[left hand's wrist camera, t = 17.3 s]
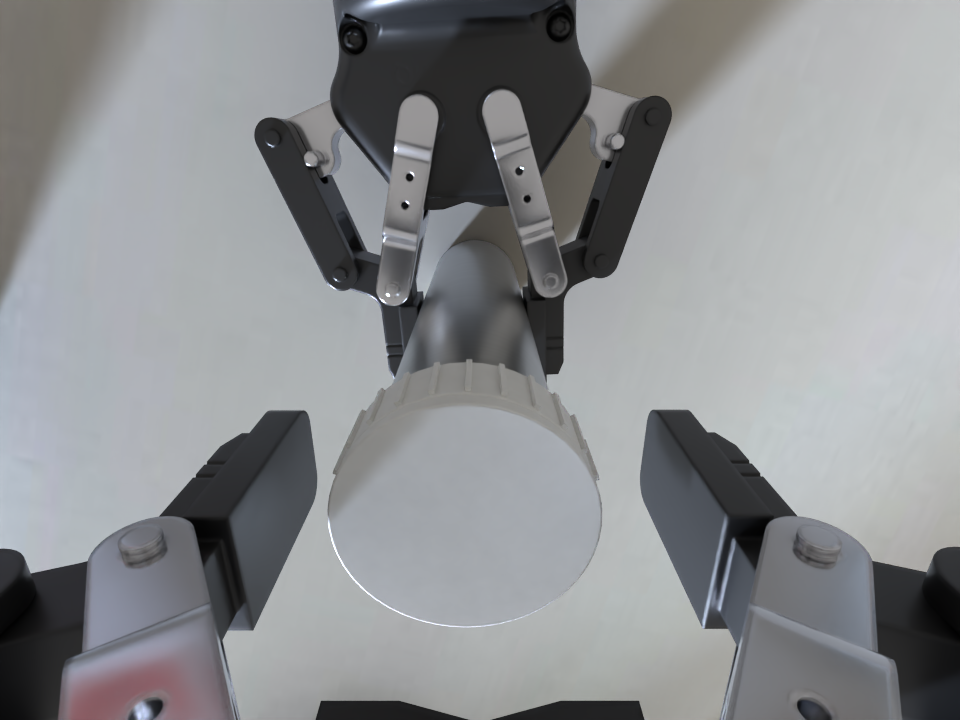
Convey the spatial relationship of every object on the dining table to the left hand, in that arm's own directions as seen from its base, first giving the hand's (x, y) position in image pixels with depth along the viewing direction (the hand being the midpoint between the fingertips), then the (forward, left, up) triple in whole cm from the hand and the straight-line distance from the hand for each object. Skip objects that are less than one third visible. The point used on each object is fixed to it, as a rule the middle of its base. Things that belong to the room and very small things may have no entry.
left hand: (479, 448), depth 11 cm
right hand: (-1, +3, -10) cm, 10 cm away
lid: (0, 0, +2) cm, 2 cm away
